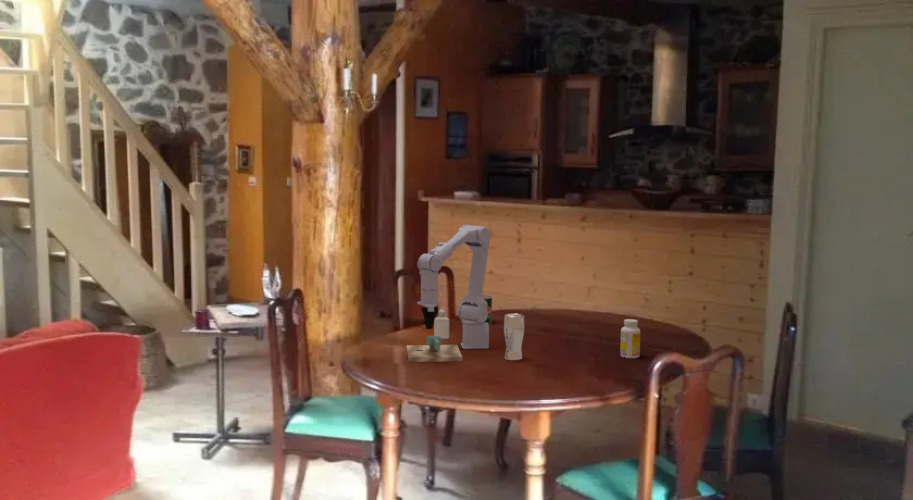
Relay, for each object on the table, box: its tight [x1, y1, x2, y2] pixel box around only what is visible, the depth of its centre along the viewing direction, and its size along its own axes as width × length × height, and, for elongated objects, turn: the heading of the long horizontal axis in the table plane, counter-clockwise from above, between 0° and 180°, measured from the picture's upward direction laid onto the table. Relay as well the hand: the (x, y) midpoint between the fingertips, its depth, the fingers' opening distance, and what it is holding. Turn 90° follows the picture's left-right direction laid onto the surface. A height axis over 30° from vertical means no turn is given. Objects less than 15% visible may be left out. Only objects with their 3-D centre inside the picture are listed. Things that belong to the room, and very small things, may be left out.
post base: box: [406, 344, 463, 363], centre depth 303 cm, size 18×18×4 cm
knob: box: [426, 335, 442, 350], centre depth 299 cm, size 11×5×3 cm, turn 12°
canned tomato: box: [472, 294, 493, 326], centre depth 358 cm, size 8×8×11 cm
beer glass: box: [503, 313, 525, 361], centre depth 299 cm, size 7×7×15 cm
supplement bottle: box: [619, 318, 641, 359], centre depth 303 cm, size 7×7×13 cm
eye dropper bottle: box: [433, 306, 450, 340], centre depth 328 cm, size 4×6×12 cm
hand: (429, 328), depth 297 cm, fingers closed
